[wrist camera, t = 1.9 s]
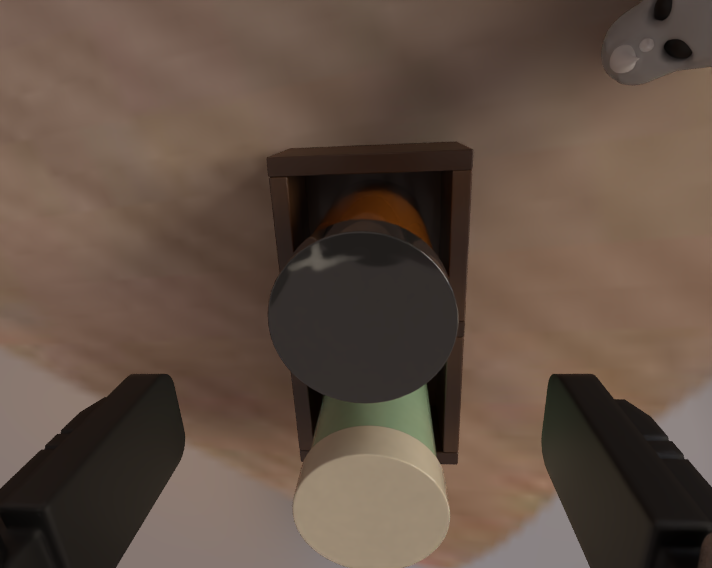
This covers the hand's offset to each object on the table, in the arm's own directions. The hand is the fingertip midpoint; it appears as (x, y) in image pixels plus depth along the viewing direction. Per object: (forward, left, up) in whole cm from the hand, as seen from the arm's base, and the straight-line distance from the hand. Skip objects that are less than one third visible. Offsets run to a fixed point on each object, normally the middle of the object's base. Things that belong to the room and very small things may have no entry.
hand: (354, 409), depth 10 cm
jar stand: (+4, 0, -15) cm, 16 cm away
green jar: (+7, 0, -15) cm, 17 cm away
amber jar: (0, 0, -15) cm, 15 cm away
